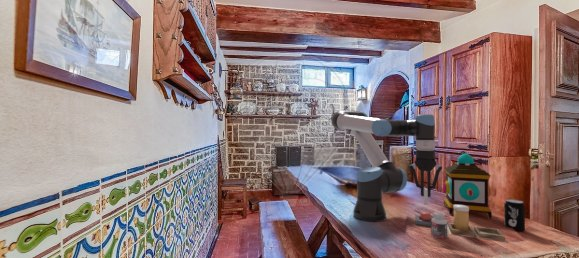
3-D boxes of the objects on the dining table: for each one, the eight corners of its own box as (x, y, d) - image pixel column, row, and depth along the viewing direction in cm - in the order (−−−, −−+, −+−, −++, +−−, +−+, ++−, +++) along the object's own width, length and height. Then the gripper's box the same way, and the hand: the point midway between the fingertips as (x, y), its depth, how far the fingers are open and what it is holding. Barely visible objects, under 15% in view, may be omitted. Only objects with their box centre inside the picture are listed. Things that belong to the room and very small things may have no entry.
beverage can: (528, 232, 108) (528, 203, 108) (510, 231, 109) (510, 202, 109) (518, 227, 114) (518, 199, 115) (501, 226, 116) (500, 198, 116)
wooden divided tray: (449, 237, 103) (449, 230, 103) (446, 228, 112) (446, 222, 113) (507, 245, 96) (507, 237, 96) (499, 235, 105) (499, 228, 105)
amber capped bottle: (454, 232, 105) (454, 207, 105) (452, 228, 110) (452, 203, 110) (470, 234, 103) (470, 208, 103) (467, 230, 107) (467, 205, 108)
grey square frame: (415, 227, 114) (415, 220, 114) (415, 221, 121) (415, 215, 121) (436, 230, 110) (436, 223, 111) (435, 224, 118) (435, 217, 118)
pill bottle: (429, 239, 101) (429, 213, 101) (433, 235, 105) (432, 210, 105) (445, 243, 98) (445, 216, 98) (448, 238, 102) (448, 213, 102)
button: (420, 223, 115) (420, 213, 115) (420, 220, 118) (420, 211, 118) (430, 224, 113) (430, 215, 113) (430, 221, 117) (430, 212, 117)
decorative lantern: (446, 215, 130) (446, 154, 131) (440, 205, 149) (440, 151, 149) (496, 220, 123) (496, 155, 123) (483, 209, 141) (483, 152, 142)
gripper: (408, 149, 115) (409, 204, 115) (443, 150, 110) (443, 207, 110) (408, 149, 122) (409, 200, 122) (441, 149, 117) (441, 203, 116)
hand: (425, 203), depth 116 cm, fingers closed
